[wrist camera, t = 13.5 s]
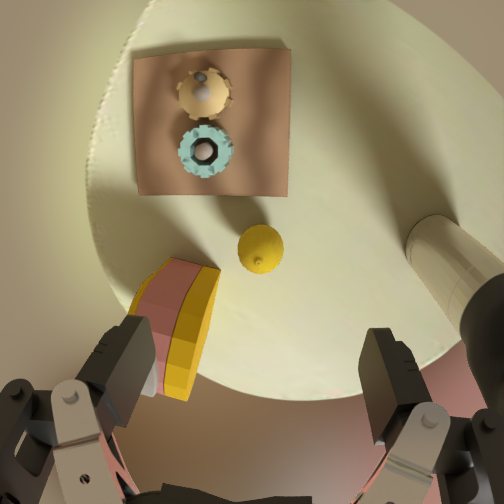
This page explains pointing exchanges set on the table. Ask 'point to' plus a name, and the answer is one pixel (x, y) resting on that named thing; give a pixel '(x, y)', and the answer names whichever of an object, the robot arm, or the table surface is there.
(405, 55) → the table surface
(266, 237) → the lemon
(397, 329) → the table surface
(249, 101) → the gear board
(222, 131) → the teal gear
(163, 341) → the alarm clock
